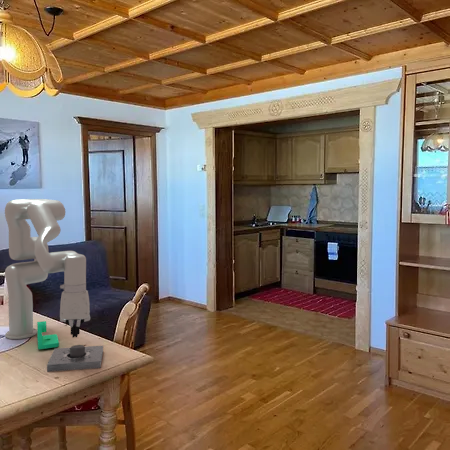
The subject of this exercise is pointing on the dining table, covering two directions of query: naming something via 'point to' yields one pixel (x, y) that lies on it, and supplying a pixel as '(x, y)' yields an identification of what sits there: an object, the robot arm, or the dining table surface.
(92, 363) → the mount plate
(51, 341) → the camera mount
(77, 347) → the dark gray cylinder
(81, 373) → the dining table surface
